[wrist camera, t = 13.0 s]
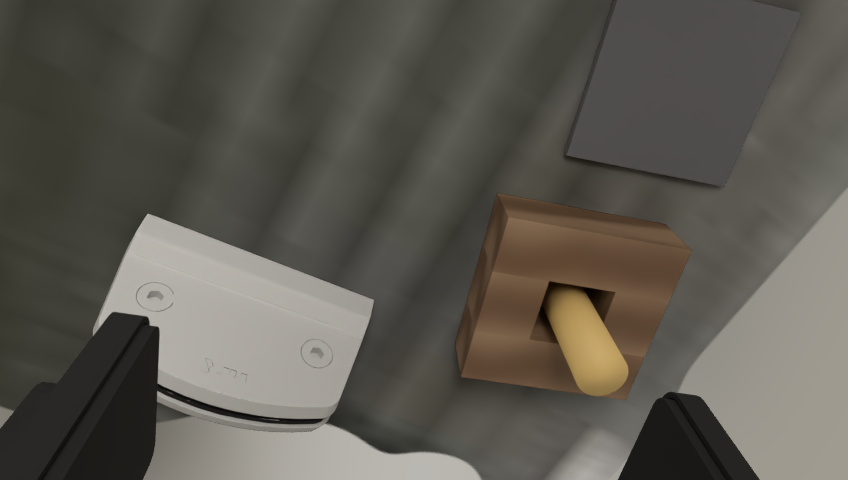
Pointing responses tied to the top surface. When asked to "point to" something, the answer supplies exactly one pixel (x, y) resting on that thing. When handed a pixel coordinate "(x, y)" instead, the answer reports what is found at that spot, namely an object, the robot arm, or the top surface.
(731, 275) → the top surface
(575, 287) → the peg
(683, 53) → the mat
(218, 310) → the white plastic device case
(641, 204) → the top surface
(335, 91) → the top surface
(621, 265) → the hole block
